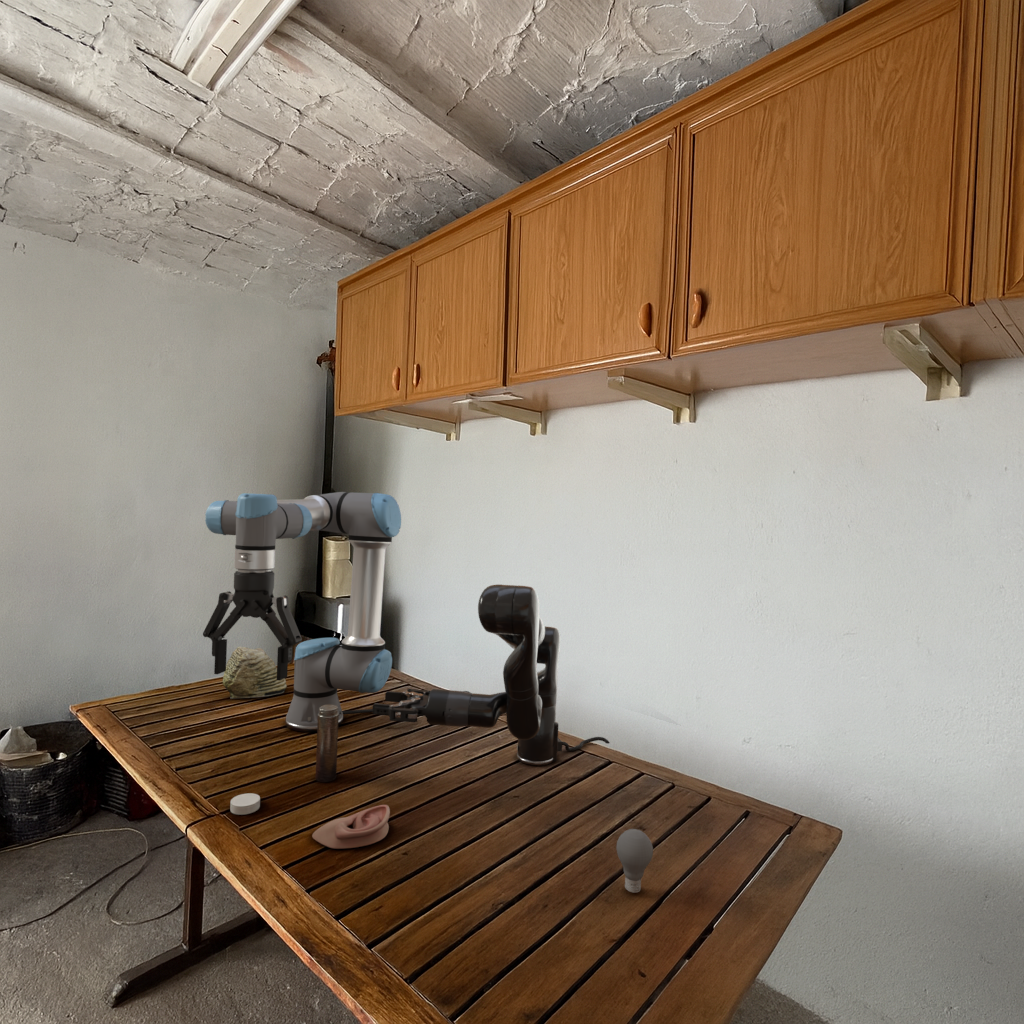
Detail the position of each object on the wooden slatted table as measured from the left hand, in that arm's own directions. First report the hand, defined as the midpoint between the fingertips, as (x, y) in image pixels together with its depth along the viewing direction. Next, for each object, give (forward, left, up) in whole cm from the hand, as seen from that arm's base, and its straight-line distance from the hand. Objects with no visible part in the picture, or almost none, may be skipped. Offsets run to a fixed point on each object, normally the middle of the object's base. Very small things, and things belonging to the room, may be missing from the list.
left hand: (250, 675), depth 127 cm
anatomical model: (-8, +24, -27) cm, 37 cm away
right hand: (-25, +10, -9) cm, 28 cm away
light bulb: (-29, +72, -27) cm, 82 cm away
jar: (-19, 0, -27) cm, 33 cm away
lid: (0, 0, -25) cm, 25 cm away
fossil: (-38, -65, -27) cm, 80 cm away
